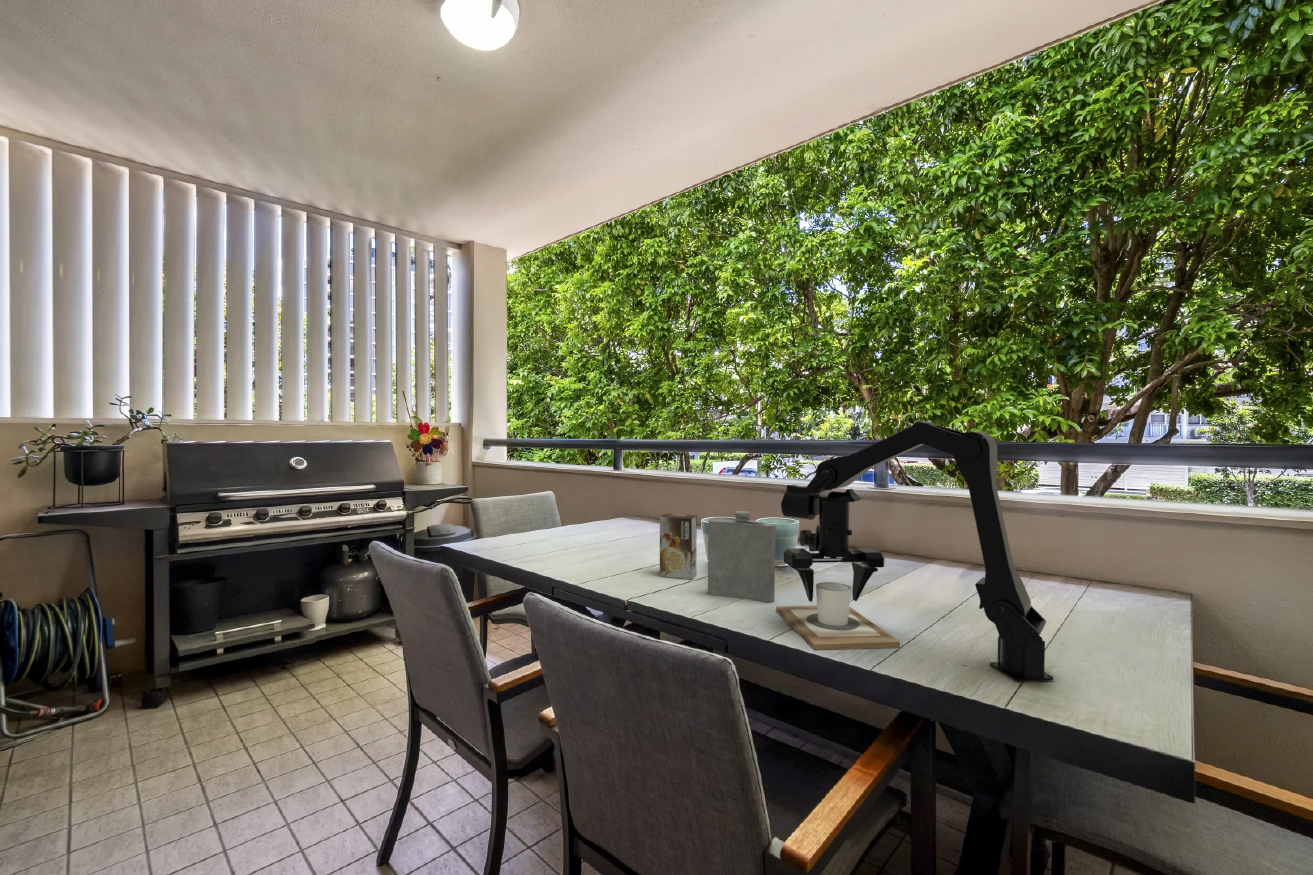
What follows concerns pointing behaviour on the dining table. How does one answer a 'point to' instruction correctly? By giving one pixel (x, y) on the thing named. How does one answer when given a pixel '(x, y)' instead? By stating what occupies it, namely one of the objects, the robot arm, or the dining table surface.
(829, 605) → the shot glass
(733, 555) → the hip flask
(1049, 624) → the dining table surface
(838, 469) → the robot arm
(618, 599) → the dining table surface
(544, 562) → the dining table surface
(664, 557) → the coffee box
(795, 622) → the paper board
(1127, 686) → the dining table surface
